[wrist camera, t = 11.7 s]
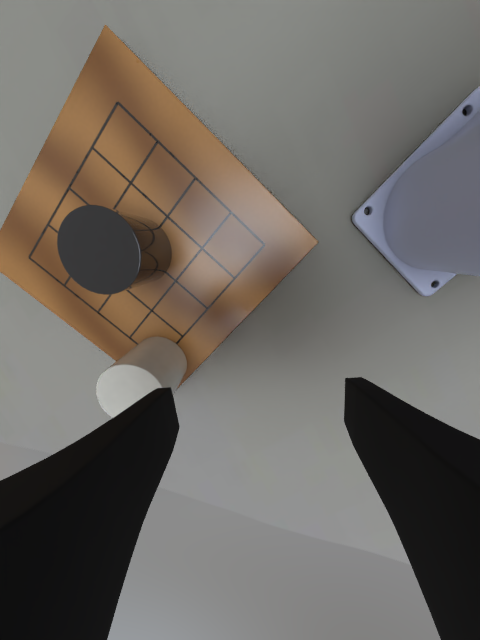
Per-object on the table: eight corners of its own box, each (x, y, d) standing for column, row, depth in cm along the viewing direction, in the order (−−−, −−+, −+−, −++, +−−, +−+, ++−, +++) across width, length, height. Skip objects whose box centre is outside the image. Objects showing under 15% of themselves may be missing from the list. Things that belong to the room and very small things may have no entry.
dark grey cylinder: (133, 201, 15) (83, 183, 11) (184, 248, 16) (158, 248, 12) (98, 253, 17) (41, 255, 12) (148, 295, 17) (111, 311, 13)
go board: (117, 41, 14) (104, 23, 13) (314, 242, 17) (319, 241, 15) (1, 259, 18) (-16, 260, 17) (171, 391, 21) (166, 400, 20)
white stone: (154, 325, 18) (120, 350, 14) (198, 361, 19) (180, 396, 14) (122, 362, 19) (82, 397, 15) (165, 395, 20) (139, 438, 15)
